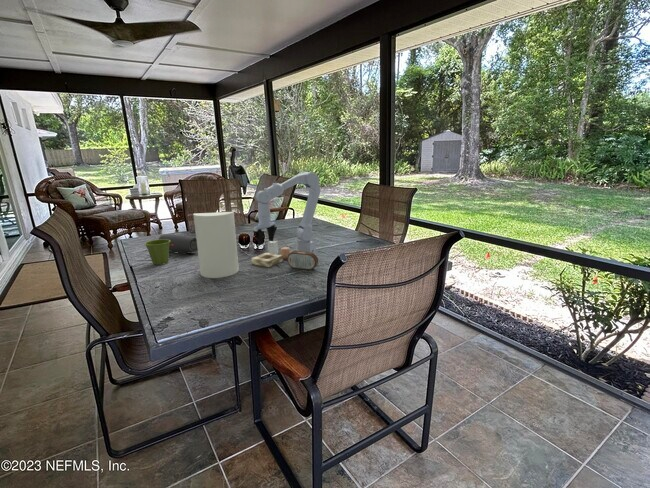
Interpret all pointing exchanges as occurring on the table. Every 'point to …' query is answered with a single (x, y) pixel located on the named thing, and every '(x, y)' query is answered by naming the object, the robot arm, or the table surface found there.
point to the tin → (302, 260)
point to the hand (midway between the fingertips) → (266, 242)
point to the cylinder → (216, 244)
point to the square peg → (273, 247)
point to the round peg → (285, 252)
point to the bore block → (267, 259)
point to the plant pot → (158, 250)
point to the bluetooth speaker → (181, 243)
